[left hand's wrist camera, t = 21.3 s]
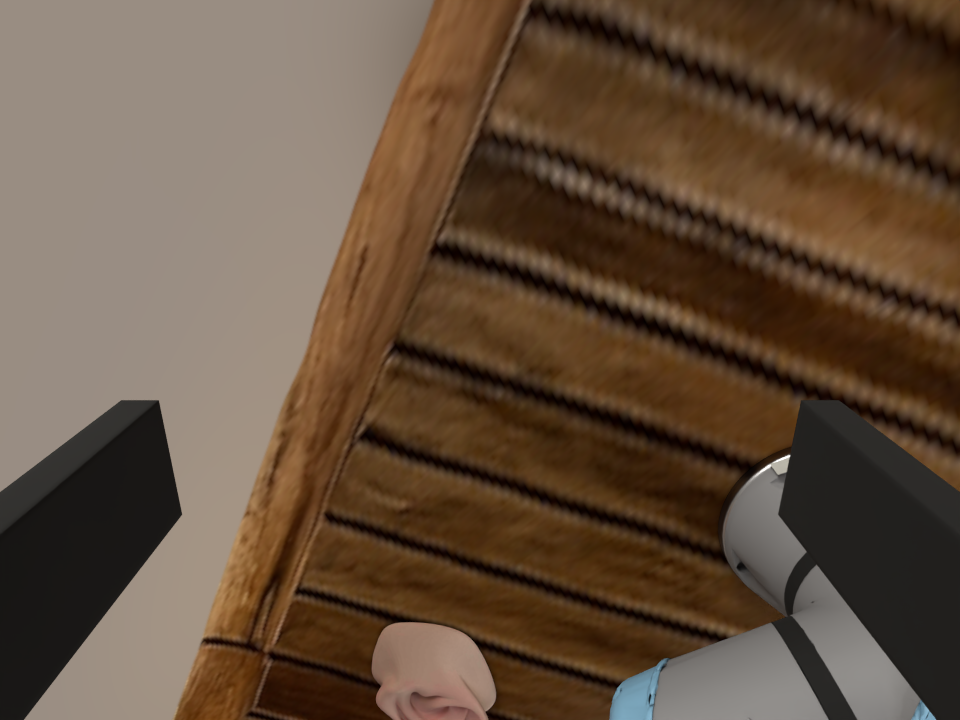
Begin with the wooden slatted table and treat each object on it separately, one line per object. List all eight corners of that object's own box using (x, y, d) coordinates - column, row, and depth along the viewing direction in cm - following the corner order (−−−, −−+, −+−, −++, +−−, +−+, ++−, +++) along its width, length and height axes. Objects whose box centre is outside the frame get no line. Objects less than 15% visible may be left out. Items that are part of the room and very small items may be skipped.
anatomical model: (351, 661, 54) (479, 645, 53) (359, 626, 58) (480, 611, 57) (383, 765, 58) (501, 751, 58) (388, 727, 62) (500, 714, 62)
